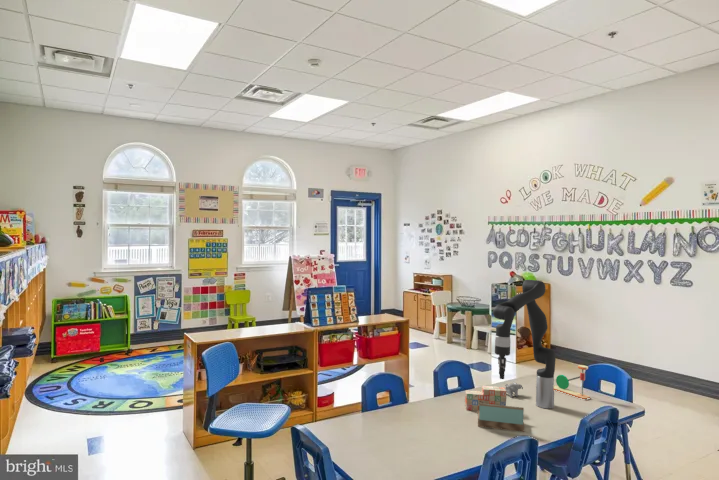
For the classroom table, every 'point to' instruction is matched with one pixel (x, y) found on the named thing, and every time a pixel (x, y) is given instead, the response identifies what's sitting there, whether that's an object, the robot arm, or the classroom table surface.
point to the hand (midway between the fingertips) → (501, 376)
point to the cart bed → (500, 425)
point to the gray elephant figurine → (513, 389)
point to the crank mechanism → (564, 384)
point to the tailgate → (501, 413)
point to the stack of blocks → (485, 397)
